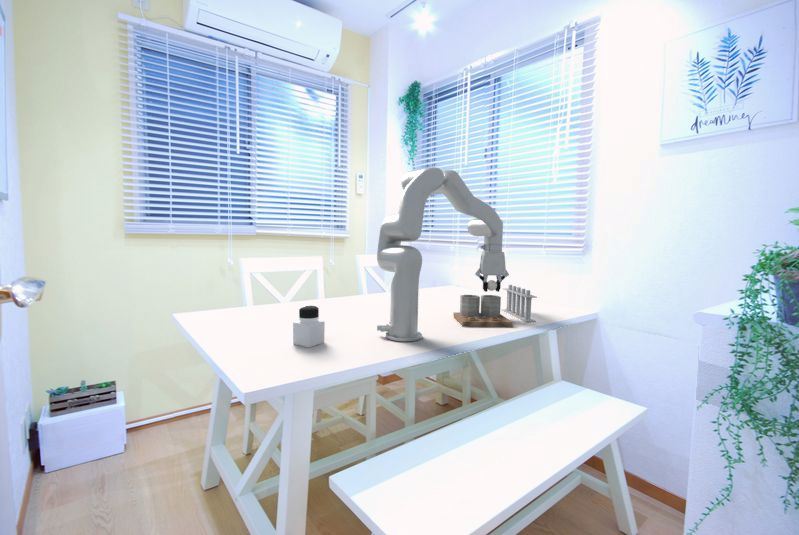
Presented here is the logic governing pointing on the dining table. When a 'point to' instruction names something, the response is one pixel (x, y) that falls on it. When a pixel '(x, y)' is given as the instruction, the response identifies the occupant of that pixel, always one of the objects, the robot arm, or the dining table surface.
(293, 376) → the dining table surface
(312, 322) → the medicine bottle
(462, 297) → the stand
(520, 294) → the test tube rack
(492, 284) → the ball cream
